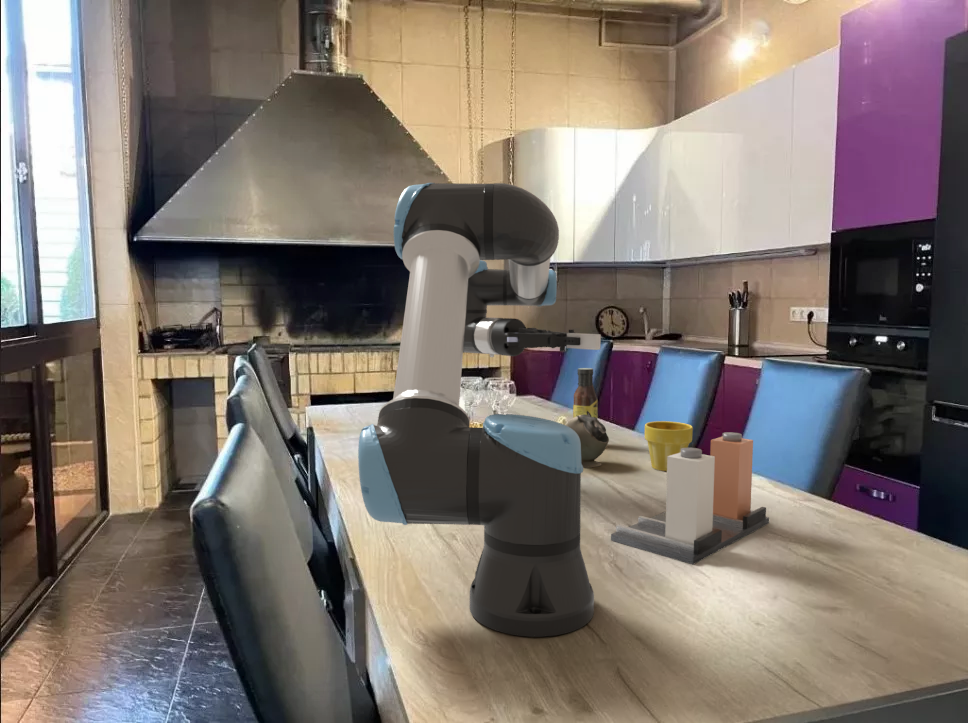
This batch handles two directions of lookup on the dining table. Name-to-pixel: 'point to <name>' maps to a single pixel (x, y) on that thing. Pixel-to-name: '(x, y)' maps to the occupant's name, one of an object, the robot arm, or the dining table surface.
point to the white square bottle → (689, 495)
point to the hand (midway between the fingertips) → (597, 342)
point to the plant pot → (666, 440)
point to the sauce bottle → (585, 394)
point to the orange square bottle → (732, 475)
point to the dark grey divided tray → (724, 533)
